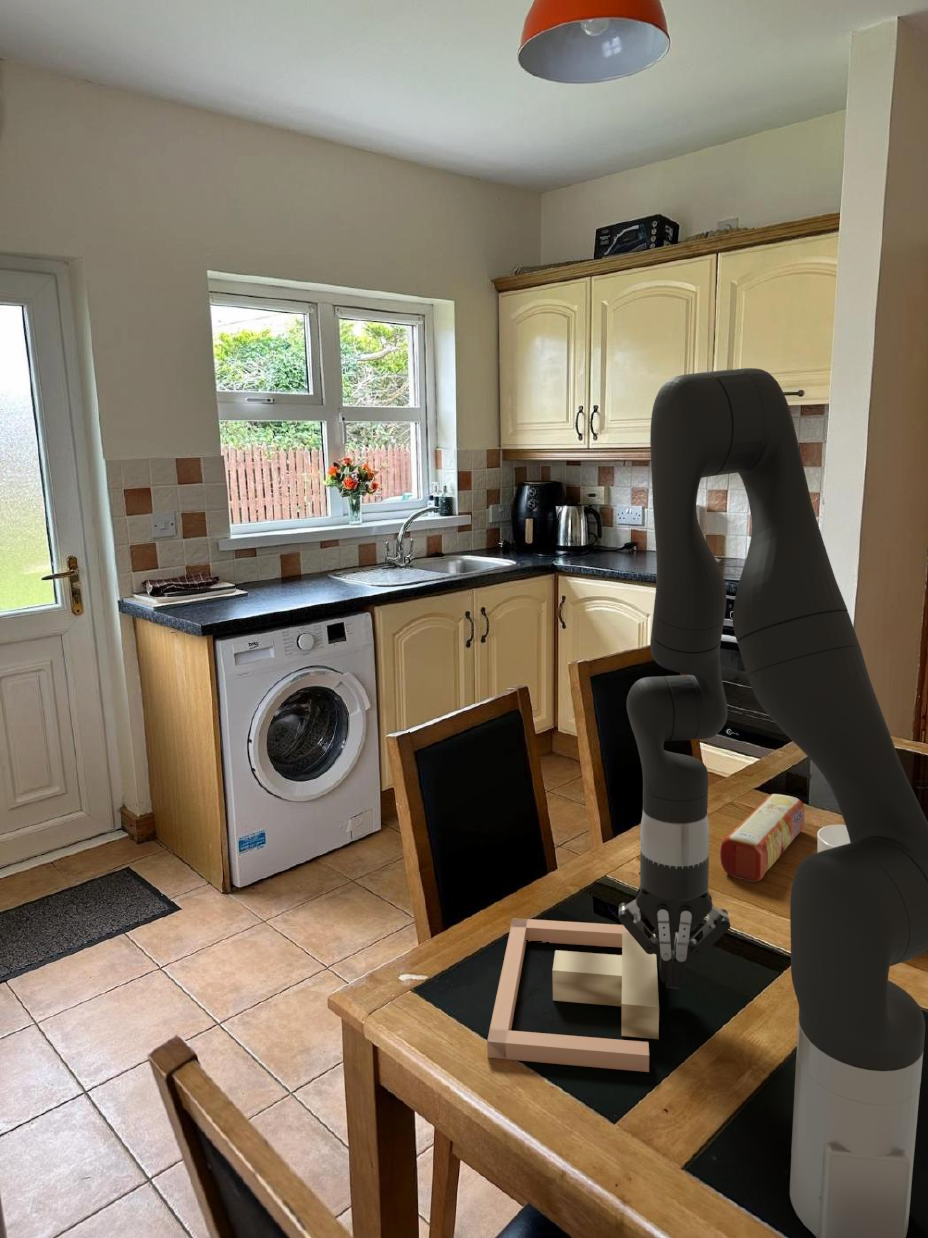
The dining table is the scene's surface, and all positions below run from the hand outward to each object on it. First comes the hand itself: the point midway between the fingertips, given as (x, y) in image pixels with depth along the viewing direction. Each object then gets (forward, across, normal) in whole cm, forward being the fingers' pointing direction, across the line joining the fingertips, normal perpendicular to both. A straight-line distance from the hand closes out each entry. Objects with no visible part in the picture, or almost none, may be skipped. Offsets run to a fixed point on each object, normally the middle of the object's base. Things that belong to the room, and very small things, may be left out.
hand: (672, 984), depth 100 cm
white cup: (+2, +25, +24) cm, 35 cm away
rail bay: (+2, -11, 0) cm, 11 cm away
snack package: (+3, +16, +38) cm, 42 cm away
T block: (+2, -8, 0) cm, 8 cm away
